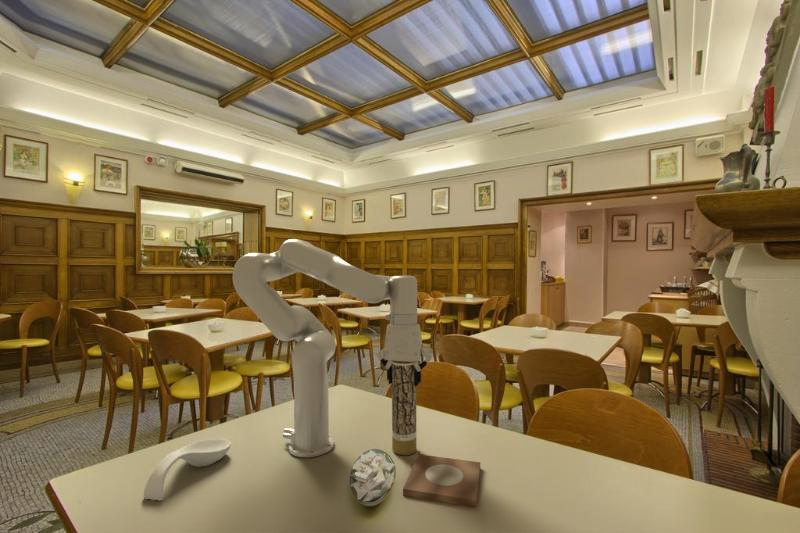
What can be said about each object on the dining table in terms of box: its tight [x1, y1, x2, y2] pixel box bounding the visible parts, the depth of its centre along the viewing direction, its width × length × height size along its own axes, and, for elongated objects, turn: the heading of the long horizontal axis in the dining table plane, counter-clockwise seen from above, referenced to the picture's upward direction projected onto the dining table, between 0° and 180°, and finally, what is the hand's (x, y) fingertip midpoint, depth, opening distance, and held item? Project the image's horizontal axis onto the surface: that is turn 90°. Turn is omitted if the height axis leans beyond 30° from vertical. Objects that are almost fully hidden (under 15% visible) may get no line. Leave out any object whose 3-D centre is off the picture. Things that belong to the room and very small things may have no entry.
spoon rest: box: [142, 438, 232, 502], centre depth 93 cm, size 24×12×7 cm, turn 172°
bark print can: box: [391, 361, 417, 456], centre depth 103 cm, size 7×7×25 cm
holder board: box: [402, 453, 481, 508], centre depth 88 cm, size 16×16×2 cm
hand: (404, 383), depth 103 cm, fingers closed on bark print can, 6 cm apart
